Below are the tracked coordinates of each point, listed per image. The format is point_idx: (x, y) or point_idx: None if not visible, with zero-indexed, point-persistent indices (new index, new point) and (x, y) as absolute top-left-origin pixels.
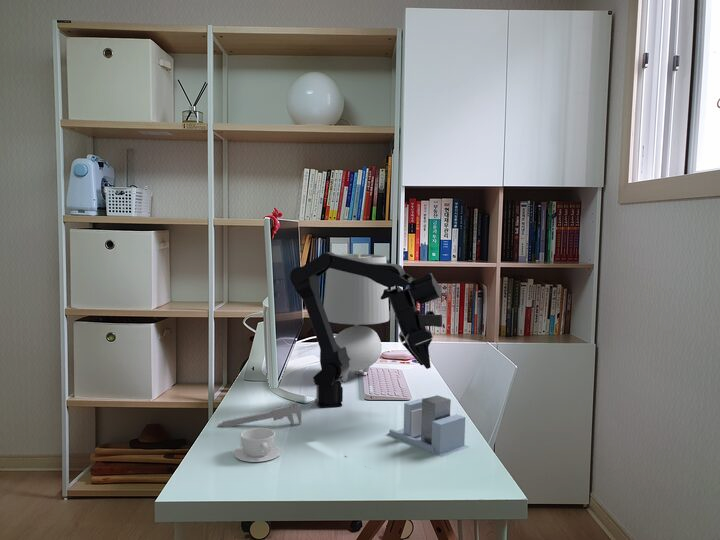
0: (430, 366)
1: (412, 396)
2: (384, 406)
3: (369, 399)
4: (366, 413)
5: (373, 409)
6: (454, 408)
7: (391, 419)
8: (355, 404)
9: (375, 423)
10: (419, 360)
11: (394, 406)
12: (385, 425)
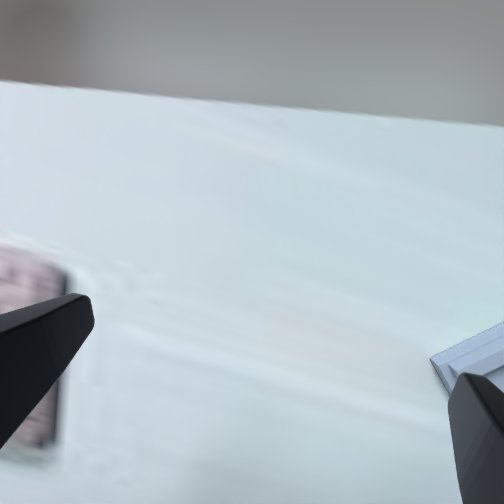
0: (490, 381)
1: (16, 244)
2: (136, 394)
3: (44, 430)
4: (212, 483)
5: (168, 446)
6: (191, 108)
7: (293, 409)
8: (102, 497)
9: (329, 479)
10: (55, 358)
11: (140, 355)
12: (357, 450)
